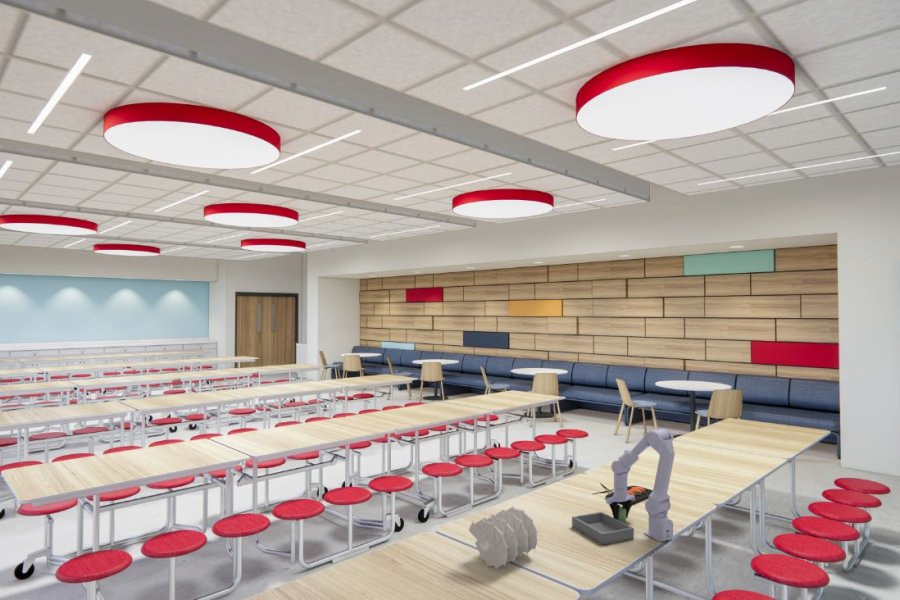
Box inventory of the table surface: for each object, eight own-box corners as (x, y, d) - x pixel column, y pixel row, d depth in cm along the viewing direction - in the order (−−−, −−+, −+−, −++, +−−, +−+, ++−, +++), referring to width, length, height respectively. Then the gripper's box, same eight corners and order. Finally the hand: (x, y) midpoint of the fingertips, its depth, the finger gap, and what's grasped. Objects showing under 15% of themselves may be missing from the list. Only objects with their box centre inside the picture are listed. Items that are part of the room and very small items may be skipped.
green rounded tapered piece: (628, 523, 238) (628, 509, 238) (620, 524, 236) (620, 510, 236) (621, 519, 242) (621, 505, 242) (612, 520, 240) (612, 507, 240)
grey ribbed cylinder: (532, 563, 206) (492, 583, 188) (500, 531, 218) (459, 547, 200) (551, 525, 202) (512, 541, 184) (517, 494, 213) (477, 507, 195)
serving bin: (633, 539, 220) (633, 528, 220) (602, 545, 214) (602, 534, 214) (601, 521, 238) (601, 511, 239) (572, 527, 232) (572, 516, 232)
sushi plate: (629, 508, 258) (629, 500, 258) (576, 492, 280) (576, 484, 280) (658, 495, 277) (658, 488, 277) (607, 481, 299) (607, 474, 299)
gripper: (627, 482, 246) (627, 512, 245) (601, 486, 240) (601, 517, 240) (638, 487, 239) (638, 518, 239) (612, 491, 234) (612, 522, 233)
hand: (620, 518), depth 239 cm, fingers closed on green rounded tapered piece, 5 cm apart
